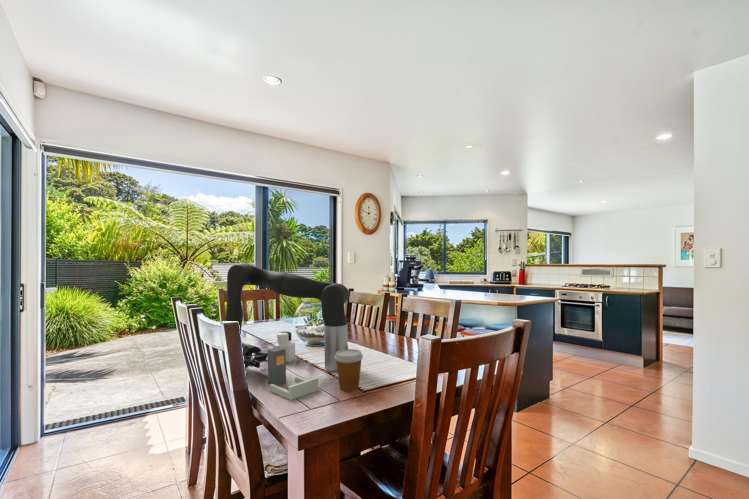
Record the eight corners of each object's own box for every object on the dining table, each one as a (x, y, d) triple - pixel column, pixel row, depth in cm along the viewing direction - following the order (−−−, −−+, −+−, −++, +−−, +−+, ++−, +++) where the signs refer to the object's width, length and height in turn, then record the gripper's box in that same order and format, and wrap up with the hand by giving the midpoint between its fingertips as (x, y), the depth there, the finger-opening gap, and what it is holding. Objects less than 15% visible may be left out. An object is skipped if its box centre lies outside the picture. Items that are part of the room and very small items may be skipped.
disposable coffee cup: (357, 394, 119) (357, 357, 119) (330, 392, 122) (329, 355, 122) (367, 384, 128) (366, 349, 128) (341, 382, 131) (340, 348, 131)
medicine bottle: (280, 357, 164) (279, 330, 164) (295, 357, 163) (295, 330, 163) (273, 362, 156) (272, 333, 157) (289, 362, 156) (289, 334, 156)
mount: (269, 390, 124) (269, 378, 124) (297, 381, 132) (297, 370, 132) (290, 400, 116) (290, 387, 116) (318, 389, 124) (318, 377, 124)
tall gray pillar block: (268, 383, 131) (267, 349, 131) (279, 380, 134) (278, 347, 134) (275, 386, 128) (274, 351, 128) (286, 383, 131) (285, 349, 131)
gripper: (230, 348, 140) (251, 356, 129) (264, 341, 151) (286, 347, 140) (230, 368, 140) (251, 377, 129) (264, 359, 151) (287, 367, 140)
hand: (269, 362), depth 134 cm, fingers open, 8 cm apart
